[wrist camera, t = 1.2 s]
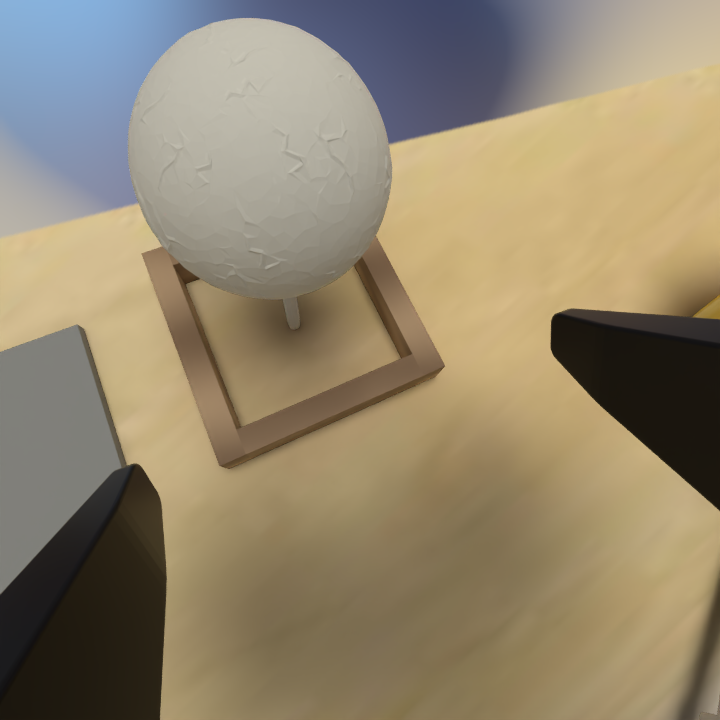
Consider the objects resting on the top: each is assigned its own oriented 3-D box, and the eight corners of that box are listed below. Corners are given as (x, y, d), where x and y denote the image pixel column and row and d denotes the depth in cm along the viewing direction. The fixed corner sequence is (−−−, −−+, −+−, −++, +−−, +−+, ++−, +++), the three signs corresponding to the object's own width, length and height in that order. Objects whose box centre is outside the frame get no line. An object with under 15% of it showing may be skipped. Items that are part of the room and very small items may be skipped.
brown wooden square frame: (435, 376, 23) (445, 365, 21) (229, 468, 21) (219, 466, 19) (346, 207, 26) (348, 184, 24) (156, 272, 24) (141, 253, 22)
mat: (155, 557, 20) (149, 559, 19) (-90, 673, 18) (-104, 679, 17) (83, 328, 22) (77, 324, 22) (-134, 406, 20) (-147, 404, 20)
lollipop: (386, 332, 24) (480, 83, 9) (283, 416, 22) (205, 268, 8) (303, 242, 25) (274, -97, 11) (199, 316, 23) (-5, 26, 9)
